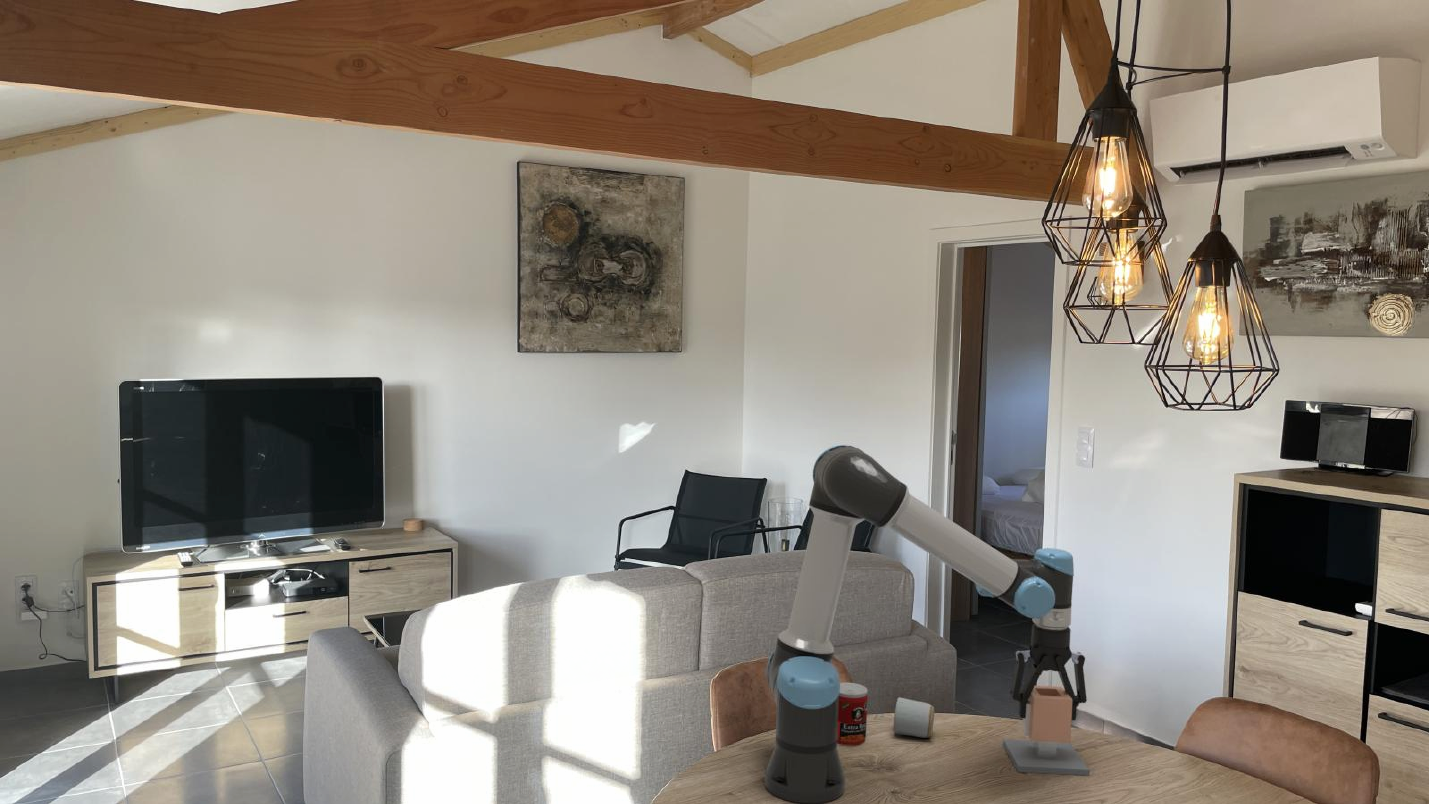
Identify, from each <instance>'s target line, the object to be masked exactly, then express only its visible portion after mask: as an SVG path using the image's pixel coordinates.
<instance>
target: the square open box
mask: <svg viewBox="0 0 1429 804" xmlns="http://www.w3.org/2000/svg"><path fill="white" fill-rule="evenodd" d="M1028 702H1029V703H1030V704H1031V708H1030V730H1029V736H1028V737H1029V740H1032V741H1036V742H1058V743H1070V744H1071V737H1072V720H1071V719H1072V698H1071V697H1070V696H1069V695H1068V694H1067V693H1066V691H1065V689H1064V687H1063V686H1053V685H1052V686H1050V685H1048V686H1047V685H1035V686H1034V688H1033V691H1032V693H1031V695H1030V697H1029V699H1028Z"/></svg>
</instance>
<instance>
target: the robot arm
mask: <svg viewBox="0 0 1429 804" xmlns="http://www.w3.org/2000/svg"><path fill="white" fill-rule="evenodd" d="M812 480H813V487H812V489H811V495H810V499H809V502H808V503H809V504H808V507H809V509H810V510H811V512H812V513H813V518H812V519H813V520H812V524H811V528H810V531H809V532H810V533H809V536H808V541H807V545H806V550H805V554H804V556H803V558H804V559H803V562H802V566H801V570H800V576H799V579H798V583H797V587H796V592H795V597H794V601H793V605H792V608H791V614H790V617H789V623H788V627H787V629H785V630H783V631H781V632H780V633H779V634H778V636H777V640H776V644H775V649H774V650H773V651H772V652H771V655H770V656H769V659H768V662H767V665H766V679H767V683H768V685H769V689H770V691H771V693H772V695H773V699H774V702H775V705H776V722H775V745H774V748H773V751H772V753H771V756H770V759H769V762H768V764H767V768H766V770H765V774H764V775H765V778H764V779H765V780H764V784H765V788H766V789H767V791H768V792H769V793H771V794H772V795H773V796H775V797H777V798H780V799H783V800H786V801H789V802H794V803H800V804H801V803H802V804H820V803H821V804H822V803H827V802H832V801H835V800H836V799H838V798H840V797H841V796H842V795H843V794H844V792H845V785H846V783H845V782H846V778H845V777H846V776H845V773H844V770H843V766H842V762H841V759H840V756H839V752H838V743H837V729H838V704H839V693H840V683H841V682H840V675H839V671H838V669H837V668H836V667H835V666H834V665H833V662H832V661H833V656H834V652H835V647H834V645H833V644H832V643H831V640H830V637H831V633H832V627H833V623H834V619H835V615H836V612H837V611H836V610H837V606H838V603H839V598H840V594H841V590H842V585H843V581H844V577H845V573H846V568H847V564H848V560H849V557H850V553H851V548H852V543H853V539H854V535H855V530H856V526H857V525H859V524H860V523H861V522H863V521H867V522H869V523H870V524H872V525H874V526H875V527H877V528H878V529H886V528H889V529H890V530H891V531H893V532H894V533H896V534H898V535H899V536H901V537H903V538H904V539H906V540H907V541H908V542H910V543H912V544H913V545H915V546H916V547H918V548H919V549H921V550H923V551H925V552H926V553H927V554H929V555H931V556H933V557H934V558H935V559H937V560H938V561H940V562H942V563H944V564H945V565H947V566H948V567H950V568H951V569H953V570H954V571H956V572H957V573H959V574H961V575H962V576H964V577H965V578H967V579H968V580H970V581H972V582H973V583H974V584H975V588H976V591H977V593H978V595H980V596H982V597H990V598H998V599H999V600H1001V601H1002V602H1004V603H1006V604H1007V605H1008V606H1011V607H1012V608H1013V609H1015V610H1016V611H1017V612H1018V613H1019V614H1021V615H1022V616H1025V617H1026V618H1031V619H1032V622H1033V624H1032V625H1031V641H1030V647H1029V648H1028V649H1027V650H1020V649H1016V650H1015V652H1014V656H1015V667H1014V671H1013V675H1012V681H1011V687H1010V690H1009V695H1010V697H1011V698H1012V699H1013V701H1017V702H1018V716H1019V718H1021V719H1022V732H1023V734H1024V736H1028V737H1029V730H1030V708H1031V704H1030V703H1029V702H1028V699H1029V697H1030V695H1031V693H1032V691H1033V688H1034V686H1036V684H1037V681H1038V680H1039V678H1040V676H1041V675H1042V674H1043V672H1048V671H1052V672H1057V674H1058V676H1059V678H1060V682H1061V684H1062V688H1063V689H1064V690H1065V691H1066V693H1067V694H1068V695H1069V696H1070V697H1071V698H1072V719H1071V721H1076V720H1077V708H1078V707H1079V704H1085V703H1087V701H1088V700H1087V690H1086V681H1085V673H1084V664H1085V662H1086V656H1084V655H1083V654H1082V652H1079V651H1078V652H1073V651H1071V647H1070V645H1071V631H1072V629H1071V628H1070V626H1071V623H1072V606H1073V605H1072V600H1073V583H1074V576H1075V573H1074V572H1075V571H1074V567H1075V566H1074V556H1073V555H1072V553H1070V552H1069V551H1067V550H1064V549H1060V548H1052V547H1051V548H1048V547H1047V548H1046V547H1045V548H1039V549H1037V550H1036V551H1035V555H1034V557H1033V558H1031V559H1011V558H1010V557H1008V556H1006V555H1005V554H1004V553H1002V552H1001V551H999V550H998V549H996V548H994V547H992V546H991V545H990V544H988V543H987V542H985V541H983V539H980V538H979V537H977V536H975V535H974V534H972V533H971V532H969V531H968V530H966V529H965V528H963V527H961V525H959V524H957V523H955V522H954V521H952V520H951V519H949V518H948V517H946V516H944V515H943V514H942V513H941V512H938V511H937V510H935V509H933V507H931V506H929V505H928V504H926V503H925V502H923V501H921V499H919V498H916V496H914V495H912V494H911V493H910V491H909V487H908V485H906V484H905V483H903V482H902V481H900V480H899V479H897V478H896V477H894V475H892V474H891V473H890V472H889V471H888V470H886V468H884V467H883V466H882V465H881V464H880V463H879V462H878V461H877V460H875V459H874V457H872V456H871V455H869V454H867V453H865V452H864V450H862V449H860V448H859V447H854V446H852V445H845V444H838V445H833V446H831V447H829V448H827V449H825V450H824V451H823V452H822V453H820V454H819V455H818V457H817V459H815V462H814V465H813V469H812ZM1029 657H1030V658H1031V659H1032V661H1033V664H1032V665H1031V669H1030V671H1029V674H1028V676H1027V677H1026V680H1025V682H1024V684H1023V686H1022V681H1023V678H1024V674H1025V673H1024V672H1025V668H1026V662H1027V661H1028V660H1029ZM1070 659H1071V662H1072V663H1073V669H1074V671H1073V672H1074V679H1075V687H1076V695H1075V692H1074V689H1073V686H1072V684H1071V681H1070V678H1069V675H1068V672H1067V668H1066V667H1065V666H1066V664H1067V663H1068V662H1069V660H1070ZM1021 686H1022V687H1021Z"/></svg>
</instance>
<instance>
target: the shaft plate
mask: <svg viewBox="0 0 1429 804" xmlns="http://www.w3.org/2000/svg"><path fill="white" fill-rule="evenodd" d="M1002 746H1003V747H1004V750H1005V751H1006V753H1007V755H1008V756H1009V758H1010V760H1011V761H1012V764H1013V766H1014V767H1015V769H1016V770H1017V772H1018V773H1029V774H1030V773H1033V774H1050V775H1051V774H1052V775H1068V776H1069V775H1071V776H1087V777H1089V776H1090V771H1091V770H1090V768H1089V767H1088V766H1087V764H1086V762H1084V760H1083V759H1082V758H1081V756H1080V754H1079V753H1078V752H1077V750H1076V749H1075V747H1074V746H1073V745H1072V744H1071V742H1070V743H1058V742H1057V749H1056V758H1050V757H1038V756H1037V754H1036V753H1035V751H1034V741H1032V740H1031V739H1027V740H1026V739H1014V738H1013V739H1008V738H1003V739H1002Z"/></svg>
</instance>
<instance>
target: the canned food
mask: <svg viewBox="0 0 1429 804" xmlns="http://www.w3.org/2000/svg"><path fill="white" fill-rule="evenodd" d="M868 695H869V693H868V687H866V686H865V685H862V684H859V683H856V682H848V681H847V682H840V693H839V704H838V729H837V744H840V745H844V744H845V746H857V745H861V744H863V743H864V742H865V740H866V738H867V721H868V720H867V719H868V700H869V699H868Z"/></svg>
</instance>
